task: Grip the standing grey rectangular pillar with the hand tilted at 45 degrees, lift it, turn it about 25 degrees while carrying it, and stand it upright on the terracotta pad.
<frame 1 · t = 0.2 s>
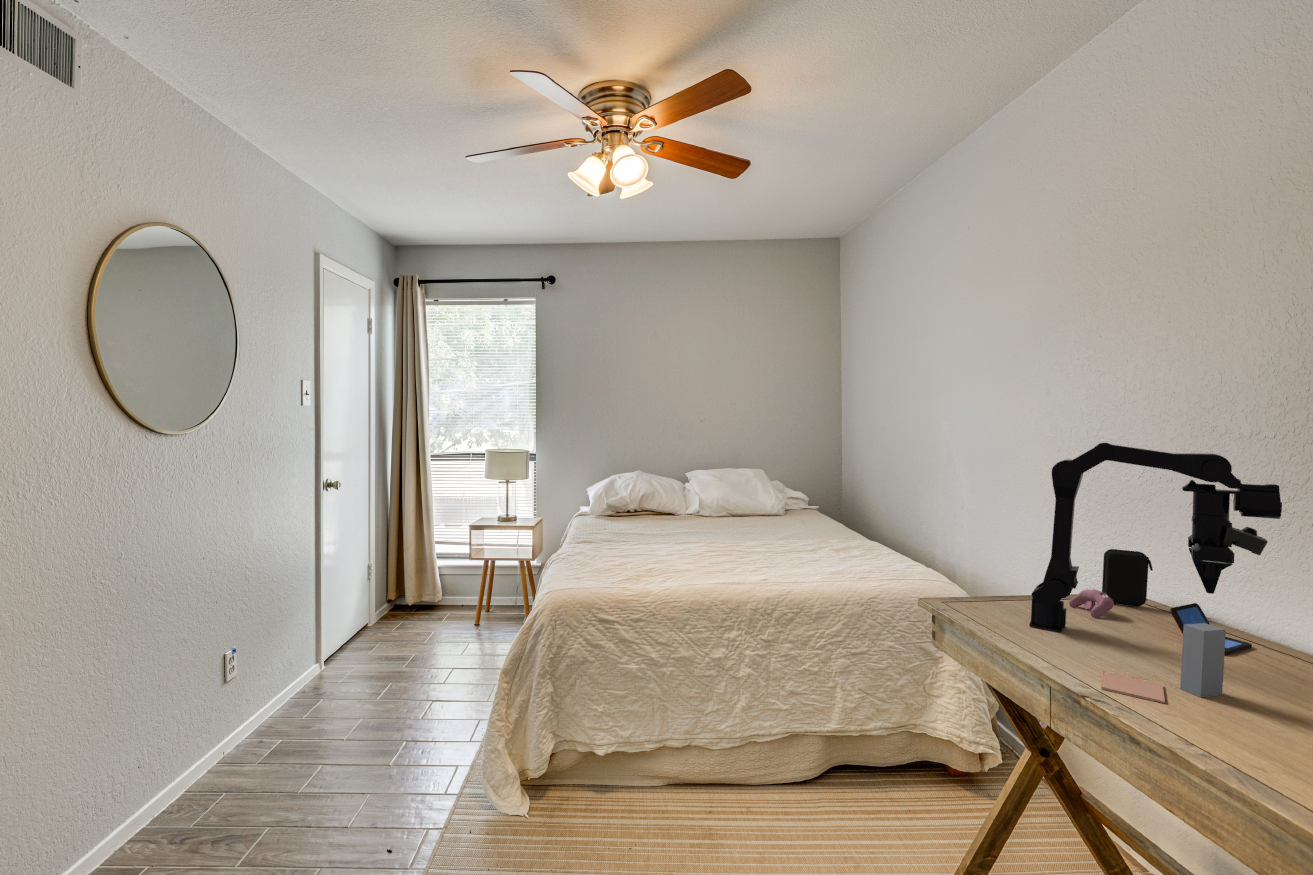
hand: (1208, 588, 130), 14 cm above the table, tool pointing down, fingers open, 9 cm apart
grey rectangular pillar: (1200, 692, 114), on the table
handheld game console: (1209, 645, 139), on the table
carrying case or bag: (1125, 605, 167), on the table
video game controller: (1090, 613, 160), on the table
terracotta pad: (1132, 687, 115), on the table
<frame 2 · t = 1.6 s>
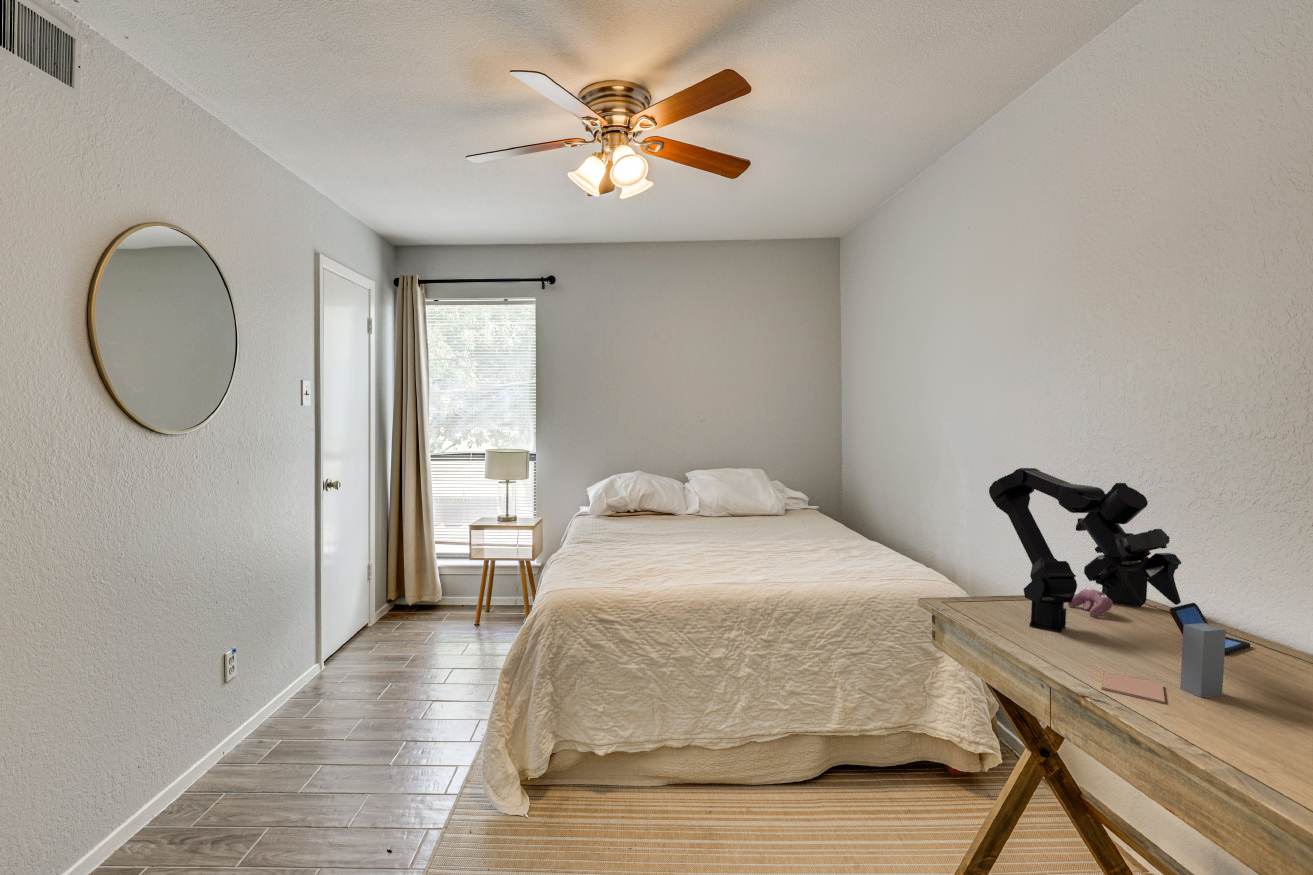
hand: (1159, 604, 121), 14 cm above the table, tool tilted 45°, fingers open, 9 cm apart
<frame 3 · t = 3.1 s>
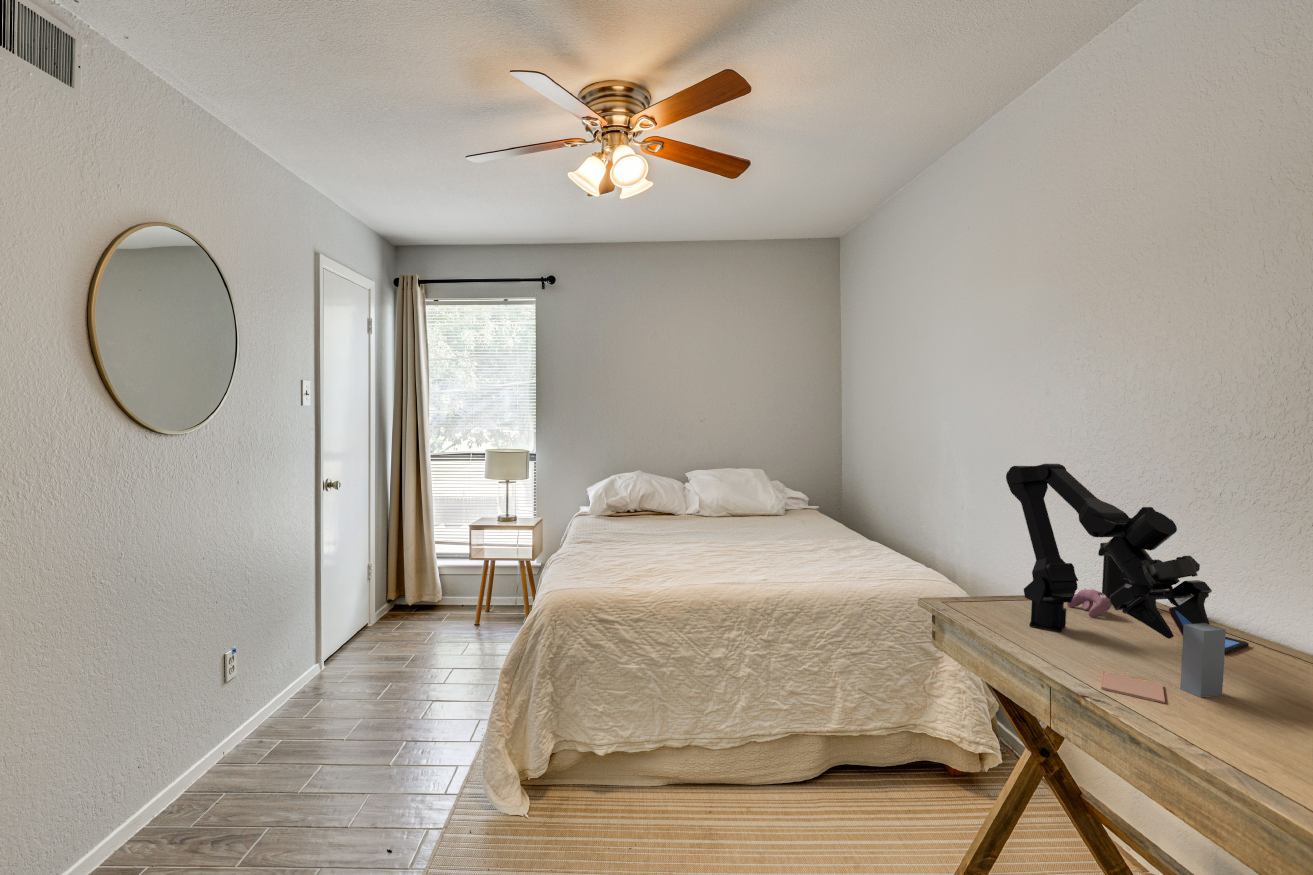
hand: (1190, 636, 115), 10 cm above the table, tool tilted 45°, fingers open, 9 cm apart
nothing on the table moved.
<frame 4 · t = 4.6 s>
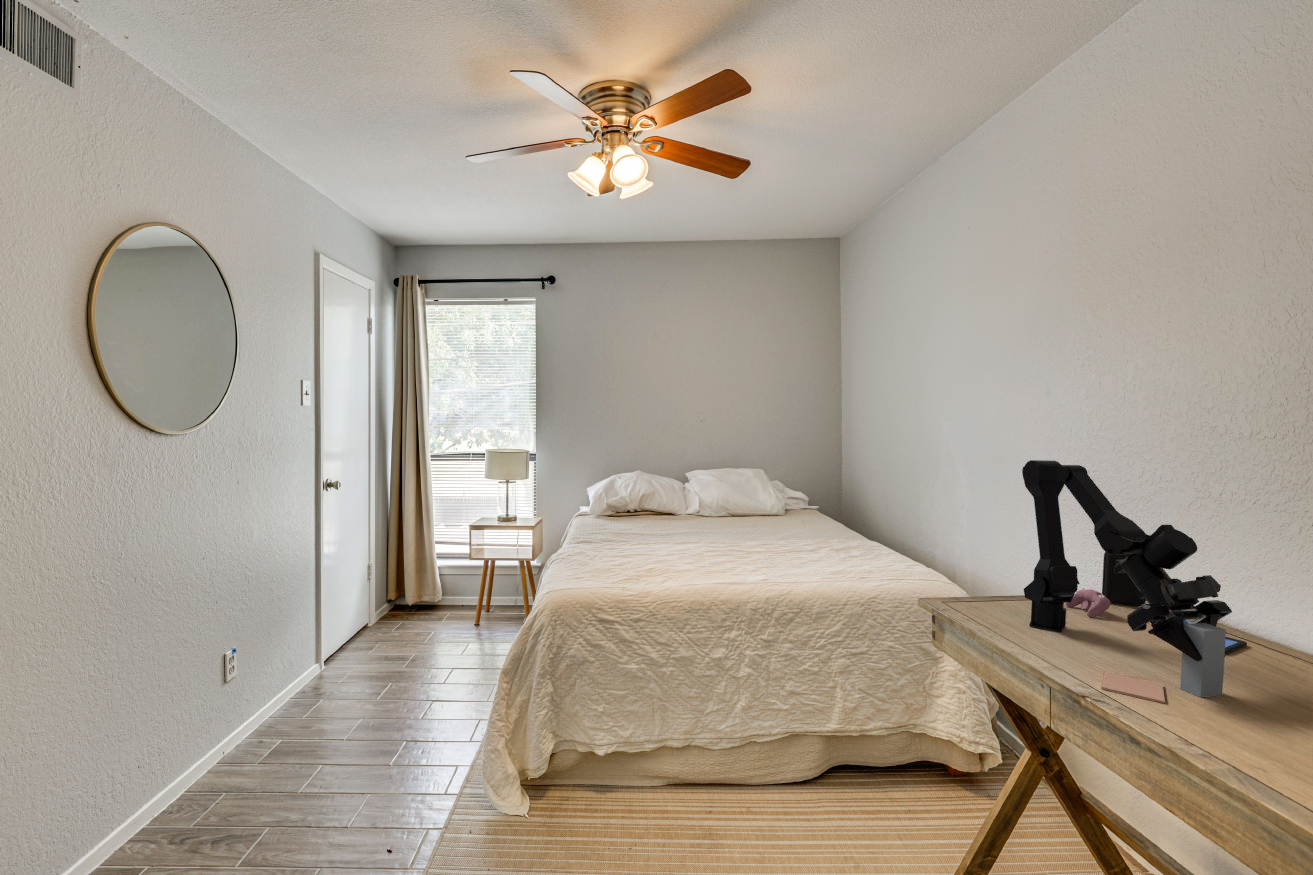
hand: (1211, 659, 112), 7 cm above the table, tool tilted 45°, fingers closed on grey rectangular pillar, 5 cm apart
grey rectangular pillar: (1200, 691, 114), on the table, touching gripper
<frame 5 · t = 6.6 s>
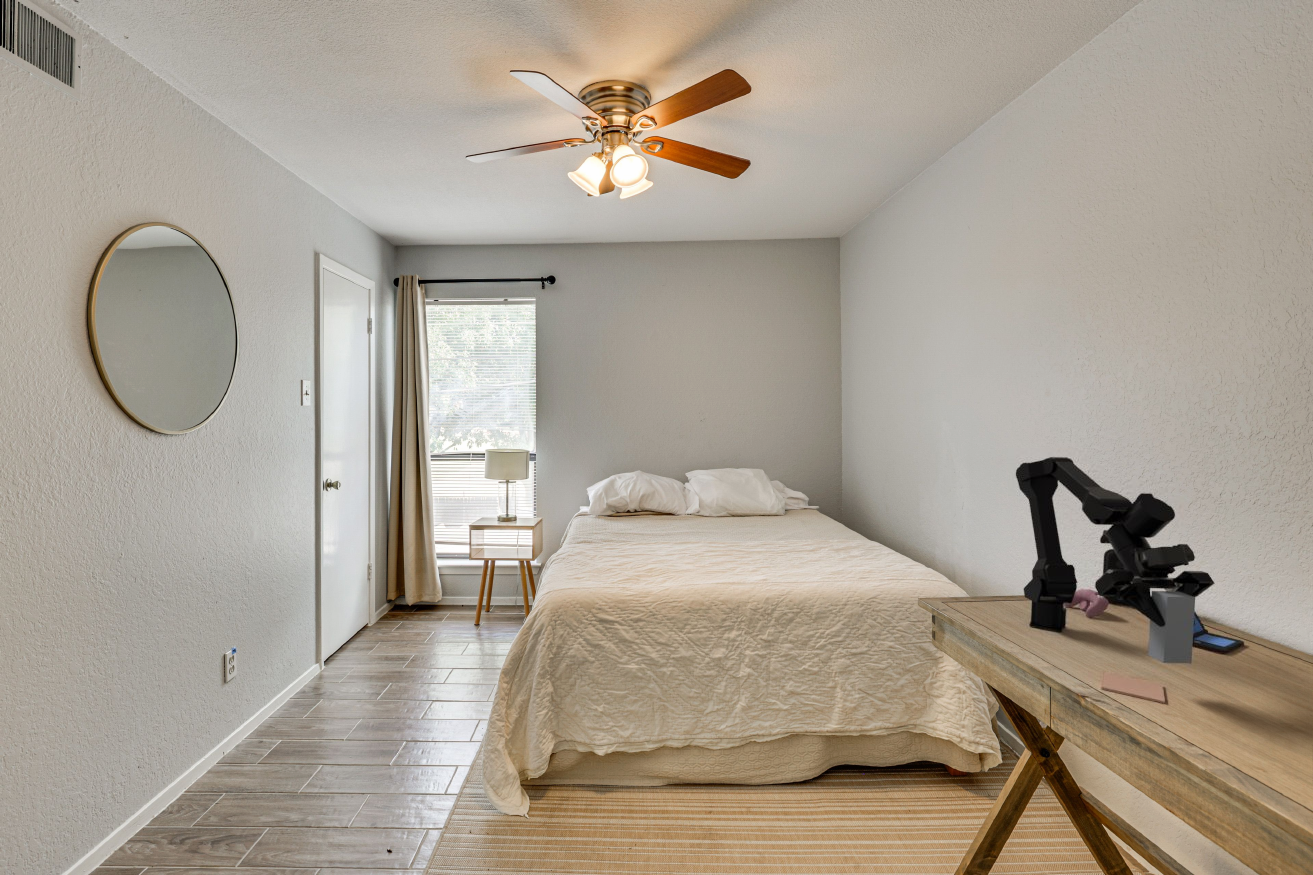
hand: (1177, 625, 112), 12 cm above the table, tool tilted 45°, fingers closed on grey rectangular pillar, 5 cm apart
grey rectangular pillar: (1169, 659, 114), point 6 cm above the table, touching gripper
when the fingers open (8 cm above the table, at t = 8.8 s): grey rectangular pillar stays where it is, resting on terracotta pad.
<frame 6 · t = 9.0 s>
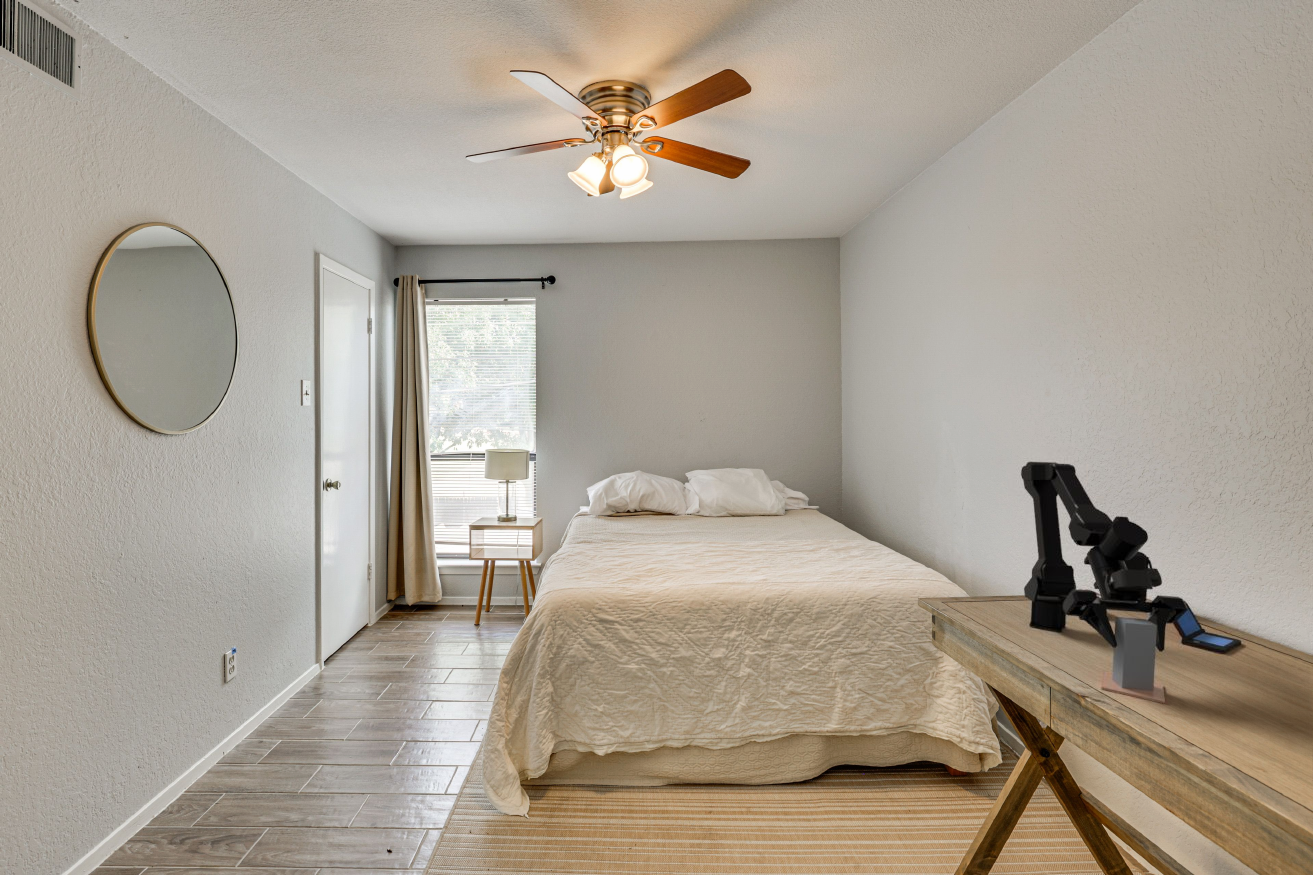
hand: (1138, 648, 113), 8 cm above the table, tool tilted 45°, fingers open, 7 cm apart
grey rectangular pillar: (1132, 685, 115), resting on terracotta pad
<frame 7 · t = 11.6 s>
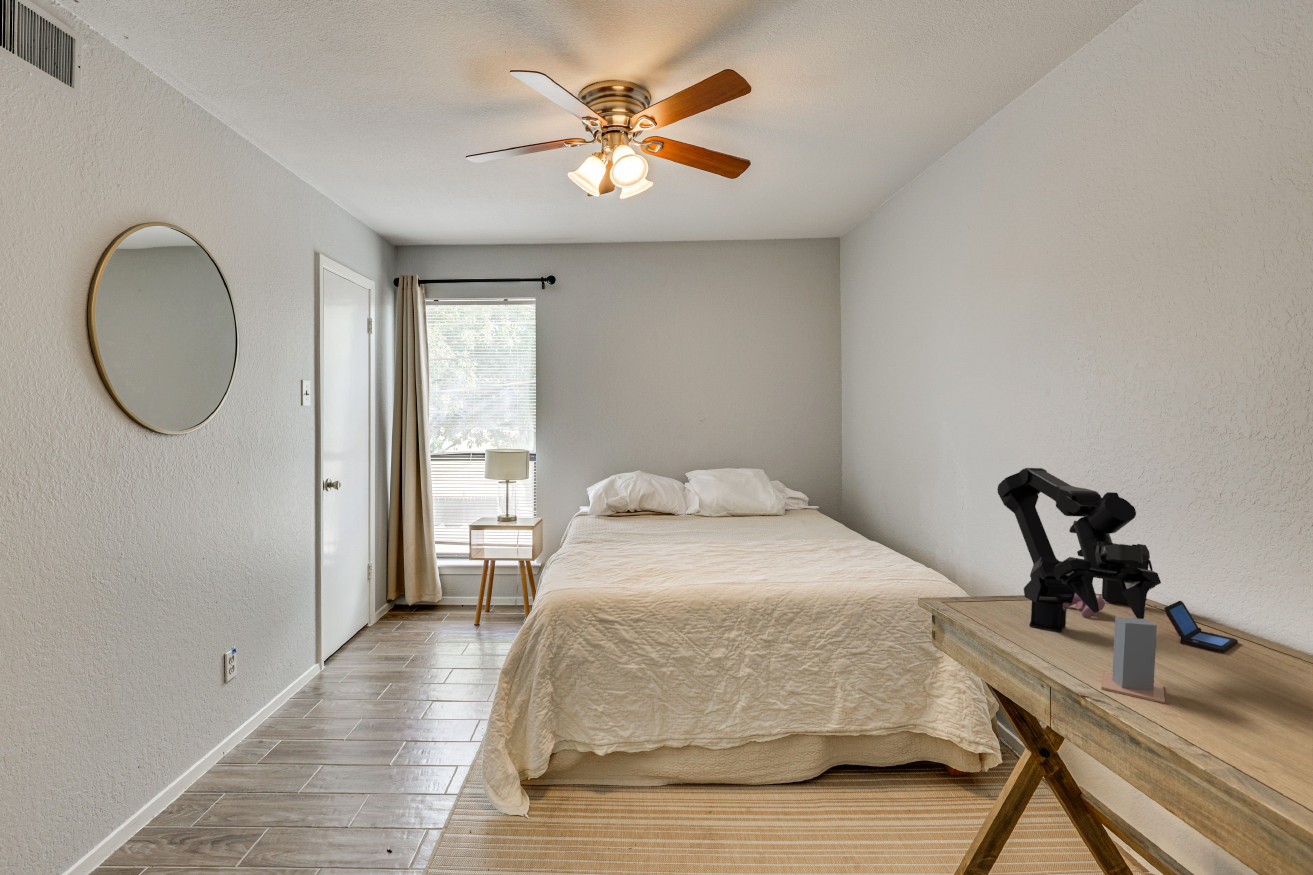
hand: (1118, 615, 123), 11 cm above the table, tool tilted 40°, fingers open, 9 cm apart
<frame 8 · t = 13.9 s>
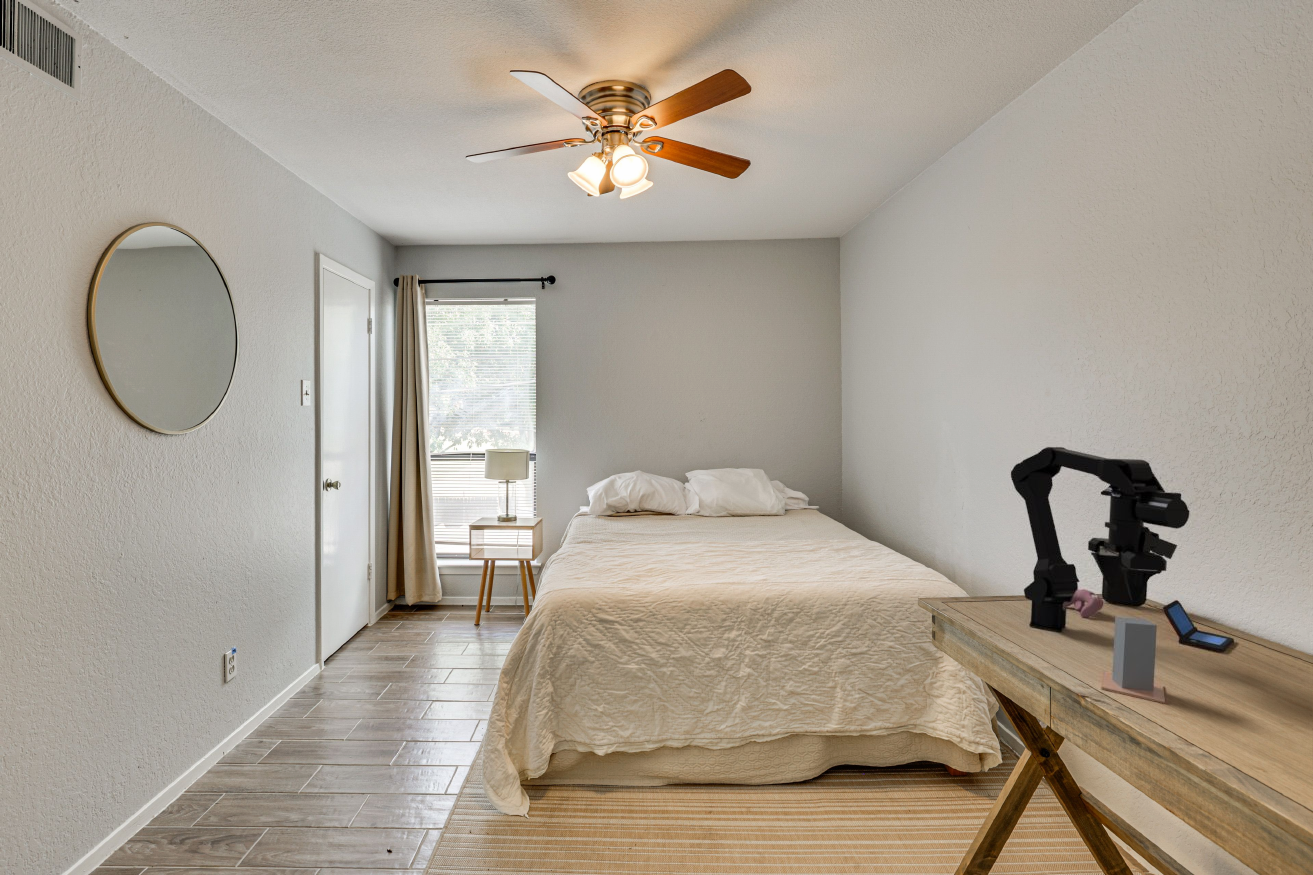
hand: (1122, 594, 130), 13 cm above the table, tool pointing down, fingers open, 9 cm apart
at the end: grey rectangular pillar 0.0 cm off-centre on the terracotta pad, point 0.4 cm above the terracotta pad's base; grey rectangular pillar tilted 0°; the gripper is holding nothing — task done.
